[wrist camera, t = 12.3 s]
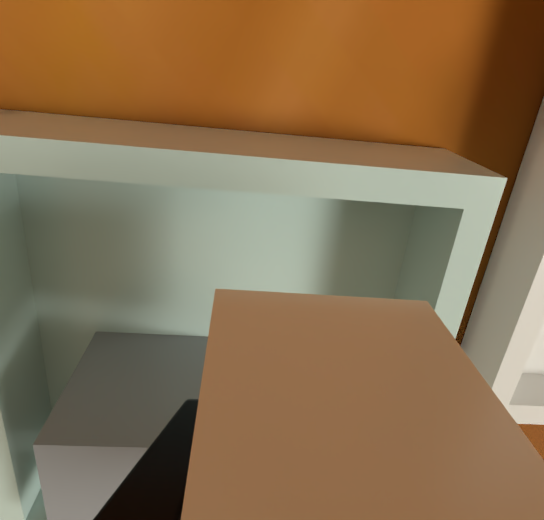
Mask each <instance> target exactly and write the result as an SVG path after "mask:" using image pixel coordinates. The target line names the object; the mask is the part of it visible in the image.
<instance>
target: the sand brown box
mask: <svg viewBox="0 0 544 520" xmlns="http://www.w3.org/2000/svg"><path fill="white" fill-rule="evenodd" d="M181 520H544V460H543V459H542V457H541V456H540V455H539V453H538V452H537V450H536V449H535V448H534V446H533V445H532V444H531V442H530V441H529V440H528V438H527V437H526V435H525V434H524V433H523V431H522V430H521V429H520V427H519V426H518V424H517V423H516V422H515V420H514V419H513V418H512V416H511V415H510V414H509V412H508V411H507V409H506V408H505V407H504V405H503V404H502V403H501V401H500V400H499V398H498V397H497V396H496V394H495V393H494V392H493V390H492V389H491V388H490V386H489V385H488V383H487V382H486V381H485V379H484V378H483V377H482V375H481V374H480V372H479V371H478V370H477V368H476V367H475V366H474V364H473V363H472V362H471V360H470V359H469V357H468V356H467V355H466V353H465V352H464V351H463V349H462V348H461V346H460V345H459V344H458V342H457V341H456V340H455V338H454V337H453V336H452V334H451V333H450V331H449V330H448V329H447V327H446V326H445V325H444V323H443V322H442V320H441V319H440V318H439V316H438V315H437V314H436V312H435V311H434V310H433V308H432V307H431V305H430V304H429V303H428V301H420V300H403V299H386V298H369V297H352V296H335V295H318V294H301V293H284V292H267V291H250V290H233V289H216V288H215V294H214V301H213V307H212V314H211V321H210V327H209V334H208V341H207V347H206V354H205V361H204V367H203V374H202V381H201V388H200V394H199V401H198V408H197V414H196V421H195V428H194V434H193V441H192V448H191V454H190V461H189V468H188V474H187V481H186V488H185V494H184V501H183V508H182V514H181Z"/></svg>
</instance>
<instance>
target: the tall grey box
mask: <svg viewBox="0 0 544 520" xmlns="http://www.w3.org/2000/svg"><path fill="white" fill-rule="evenodd" d="M207 341H208V337H206V336H184V335H162V334H140V333H118V332H95V334H94V336H93V338H92V339H91V341H90V343H89V345H88V347H87V348H86V350H85V352H84V354H83V356H82V357H81V359H80V361H79V363H78V365H77V366H76V368H75V370H74V372H73V374H72V375H71V377H70V379H69V381H68V382H67V384H66V386H65V388H64V390H63V391H62V393H61V395H60V397H59V399H58V400H57V402H56V404H55V406H54V408H53V409H52V411H51V413H50V415H49V417H48V418H47V420H46V422H45V424H44V426H43V427H42V429H41V431H40V433H39V435H38V436H37V438H36V440H35V442H34V443H33V449H34V454H35V459H36V464H37V469H38V475H39V480H40V485H41V490H42V495H43V500H44V506H45V511H46V516H47V520H93V519H94V517H95V516H96V515H97V514H98V512H99V511H100V510H101V508H102V507H103V506H104V505H105V503H106V502H107V501H108V499H109V498H110V497H111V496H112V494H113V493H114V492H115V490H116V489H117V488H118V487H119V485H120V484H121V483H122V481H123V480H124V479H125V477H126V476H127V475H128V474H129V472H130V471H131V470H132V468H133V467H134V466H135V465H136V463H137V462H138V461H139V459H140V458H141V457H142V456H143V454H144V453H145V452H146V450H147V449H148V448H149V447H150V445H151V444H152V443H153V441H154V440H155V439H156V438H157V436H158V435H159V434H160V432H161V431H162V430H163V429H164V427H165V426H166V425H167V423H168V422H169V421H170V419H171V418H172V417H173V416H174V414H175V413H176V412H177V410H178V409H179V408H180V407H181V405H182V404H183V403H184V402H185V400H187V399H189V398H196V399H199V394H200V388H201V381H202V374H203V367H204V361H205V354H206V347H207Z"/></svg>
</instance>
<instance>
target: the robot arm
mask: <svg viewBox="0 0 544 520" xmlns="http://www.w3.org/2000/svg"><path fill="white" fill-rule="evenodd" d="M198 401H199V399H196V398H189V399H187V400H185V402H184V403H183V404H182V405H181V407H180V408H179V409H178V410H177V412H176V413H175V414H174V416H173V417H172V418H171V419H170V421H169V422H168V423H167V425H166V426H165V427H164V429H163V430H162V431H161V432H160V434H159V435H158V436H157V438H156V439H155V440H154V441H153V443H152V444H151V445H150V447H149V448H148V449H147V450H146V452H145V453H144V454H143V456H142V457H141V458H140V459H139V461H138V462H137V463H136V465H135V466H134V467H133V468H132V470H131V471H130V472H129V474H128V475H127V476H126V477H125V479H124V480H123V481H122V483H121V484H120V485H119V487H118V488H117V489H116V490H115V492H114V493H113V494H112V496H111V497H110V498H109V499H108V501H107V502H106V503H105V505H104V506H103V507H102V508H101V510H100V511H99V512H98V514H97V515H96V516H95V517H94V519H93V520H181V514H182V508H183V501H184V494H185V488H186V481H187V474H188V468H189V461H190V454H191V448H192V441H193V434H194V428H195V421H196V414H197V408H198Z"/></svg>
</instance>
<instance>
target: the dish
mask: <svg viewBox="0 0 544 520" xmlns="http://www.w3.org/2000/svg"><path fill="white" fill-rule="evenodd" d="M506 181H507V178H506V177H504V176H502V175H500V174H498V173H496V172H494V171H491V170H489V169H487V168H485V167H483V166H481V165H479V164H477V163H474V162H472V161H470V160H468V159H466V158H464V157H462V156H460V155H457V154H455V153H453V152H451V151H449V150H447V149H443V148H432V147H421V146H410V145H398V144H387V143H376V142H365V141H354V140H342V139H331V138H320V137H309V136H298V135H286V134H275V133H264V132H253V131H241V130H230V129H219V128H208V127H197V126H185V125H174V124H163V123H152V122H141V121H129V120H118V119H107V118H96V117H85V116H73V115H62V114H51V113H40V112H29V111H17V110H6V109H0V520H47V516H46V511H45V506H44V500H43V495H42V490H41V485H40V480H39V475H38V469H37V464H36V459H35V454H34V449H33V443H34V442H35V440H36V438H37V436H38V435H39V433H40V431H41V429H42V427H43V426H44V424H45V422H46V420H47V418H48V417H49V415H50V413H51V411H52V409H53V408H54V406H55V404H56V402H57V400H58V399H59V397H60V395H61V393H62V391H63V390H64V388H65V386H66V384H67V382H68V381H69V379H70V377H71V375H72V374H73V372H74V370H75V368H76V366H77V365H78V363H79V361H80V359H81V357H82V356H83V354H84V352H85V350H86V348H87V347H88V345H89V343H90V341H91V339H92V338H93V336H94V334H95V332H118V333H140V334H162V335H184V336H206V337H208V334H209V327H210V321H211V314H212V307H213V301H214V294H215V288H216V289H233V290H250V291H267V292H284V293H301V294H318V295H335V296H352V297H369V298H386V299H403V300H420V301H428V303H429V304H430V305H431V307H432V308H433V310H434V311H435V312H436V314H437V315H438V316H439V318H440V319H441V320H442V322H443V323H444V325H445V326H446V327H447V329H448V330H449V331H450V333H451V334H452V336H453V337H454V338H455V339H456V336H457V333H458V329H459V326H460V323H461V320H462V317H463V314H464V311H465V308H466V305H467V302H468V299H469V296H470V292H471V289H472V286H473V283H474V280H475V277H476V274H477V271H478V268H479V265H480V262H481V259H482V255H483V252H484V249H485V246H486V243H487V240H488V237H489V234H490V231H491V228H492V225H493V221H494V218H495V215H496V212H497V209H498V206H499V203H500V200H501V197H502V194H503V191H504V188H505V184H506Z"/></svg>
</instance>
